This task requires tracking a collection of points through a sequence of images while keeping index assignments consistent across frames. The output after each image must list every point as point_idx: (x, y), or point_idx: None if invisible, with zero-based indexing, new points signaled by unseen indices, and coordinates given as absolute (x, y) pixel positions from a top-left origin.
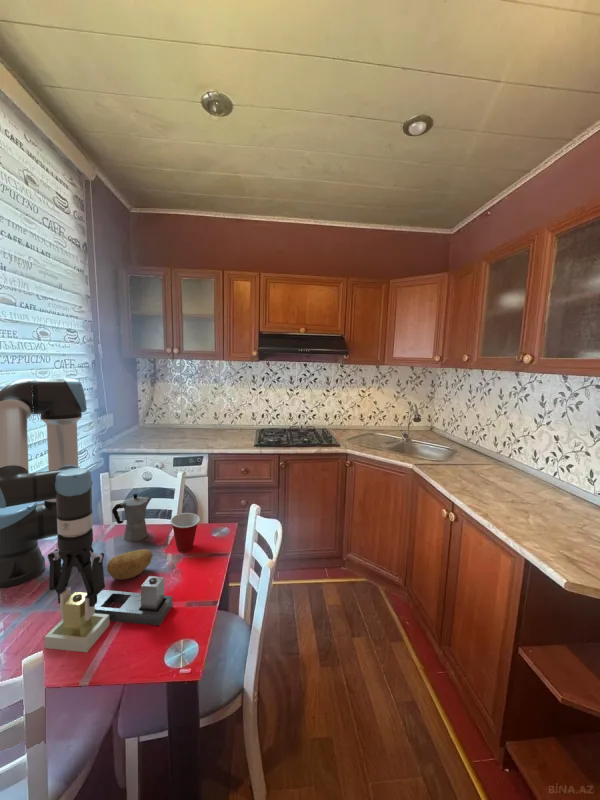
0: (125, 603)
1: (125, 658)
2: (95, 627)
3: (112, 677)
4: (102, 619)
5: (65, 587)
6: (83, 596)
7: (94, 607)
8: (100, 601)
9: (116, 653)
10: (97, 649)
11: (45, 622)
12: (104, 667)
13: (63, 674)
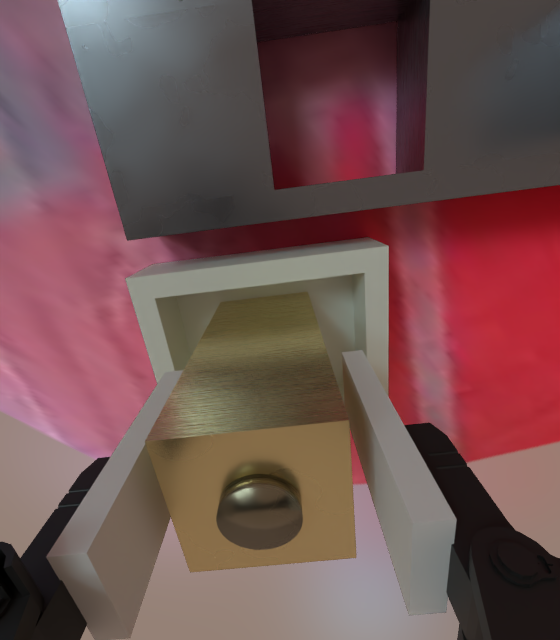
0: (436, 102)
1: (544, 378)
2: (373, 350)
3: (530, 445)
4: (372, 292)
5: (43, 622)
6: (300, 476)
7: (374, 375)
8: (230, 134)
9: (495, 367)
10: (404, 369)
11: (38, 300)
12: (480, 423)
13: (355, 469)
